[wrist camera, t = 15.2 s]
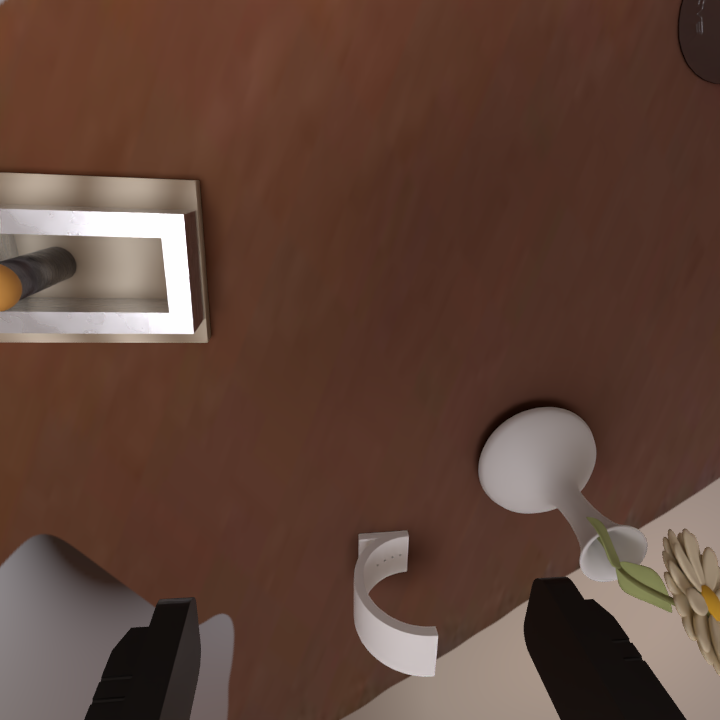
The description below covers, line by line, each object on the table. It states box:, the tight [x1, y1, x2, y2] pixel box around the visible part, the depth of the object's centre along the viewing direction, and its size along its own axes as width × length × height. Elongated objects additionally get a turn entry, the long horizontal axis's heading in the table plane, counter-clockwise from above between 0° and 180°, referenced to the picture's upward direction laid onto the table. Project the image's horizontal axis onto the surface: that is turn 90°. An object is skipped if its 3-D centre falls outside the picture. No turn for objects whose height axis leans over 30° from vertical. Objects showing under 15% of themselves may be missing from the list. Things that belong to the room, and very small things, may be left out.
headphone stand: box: [354, 531, 438, 677], centre depth 44 cm, size 5×6×12 cm
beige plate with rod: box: [0, 172, 211, 343], centre depth 31 cm, size 16×12×11 cm
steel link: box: [0, 204, 205, 334], centre depth 33 cm, size 14×8×4 cm, turn 88°
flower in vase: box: [478, 407, 720, 676], centre depth 35 cm, size 13×11×25 cm
